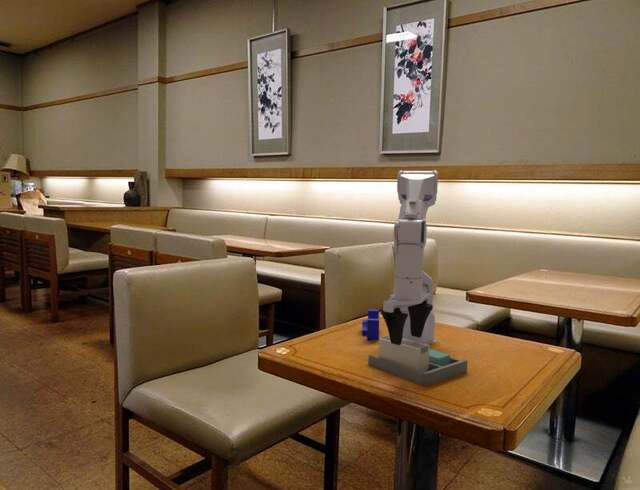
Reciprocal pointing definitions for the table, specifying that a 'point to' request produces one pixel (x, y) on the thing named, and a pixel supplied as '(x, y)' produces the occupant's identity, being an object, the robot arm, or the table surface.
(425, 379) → the grey divided tray
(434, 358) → the teal rectangular prism
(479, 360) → the table surface
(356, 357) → the table surface
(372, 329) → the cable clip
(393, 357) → the grey striped bar
